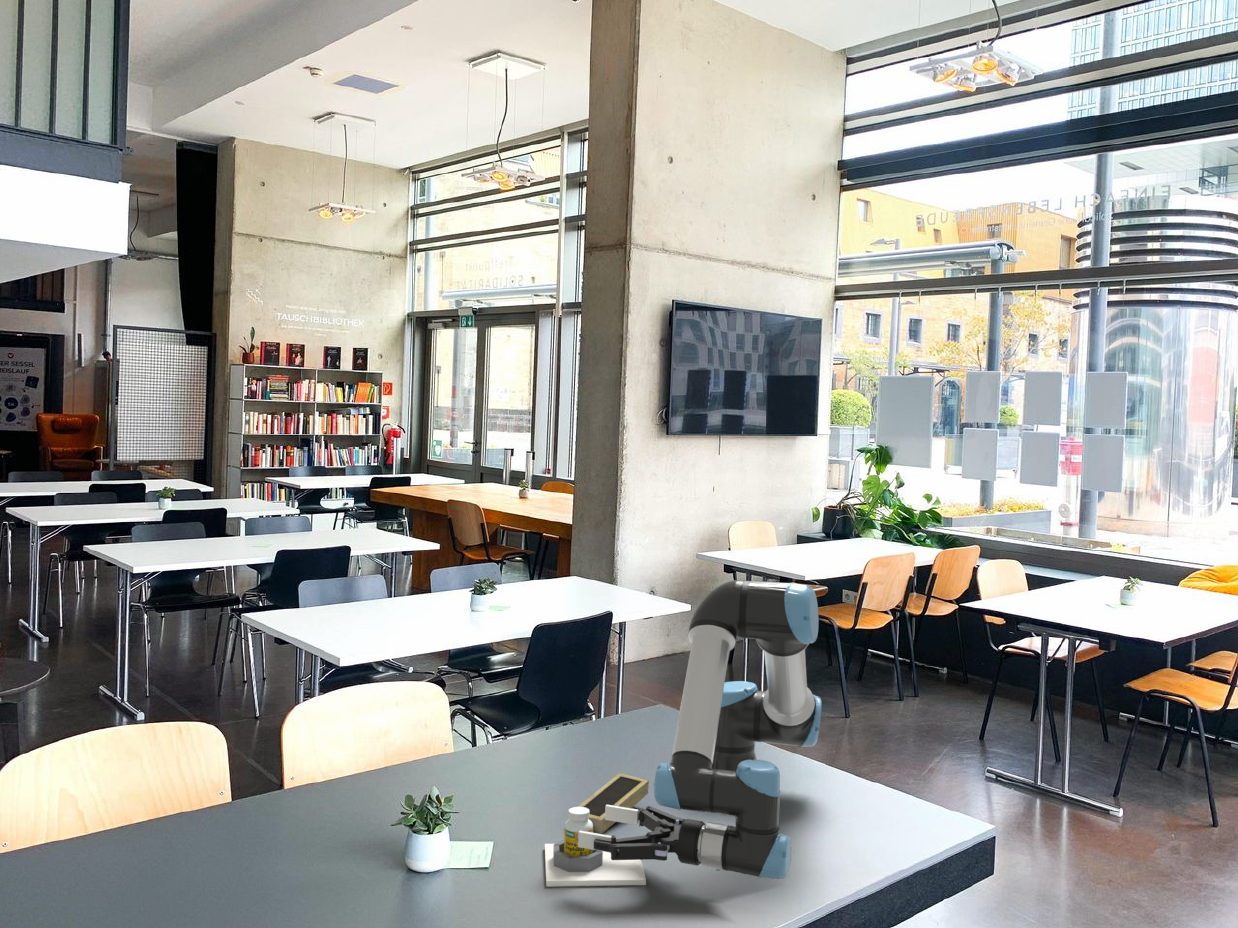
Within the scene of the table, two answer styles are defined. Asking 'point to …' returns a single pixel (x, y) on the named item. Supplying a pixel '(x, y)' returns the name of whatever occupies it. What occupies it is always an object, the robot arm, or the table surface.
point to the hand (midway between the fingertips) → (592, 824)
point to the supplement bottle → (573, 826)
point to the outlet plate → (597, 875)
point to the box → (614, 798)
